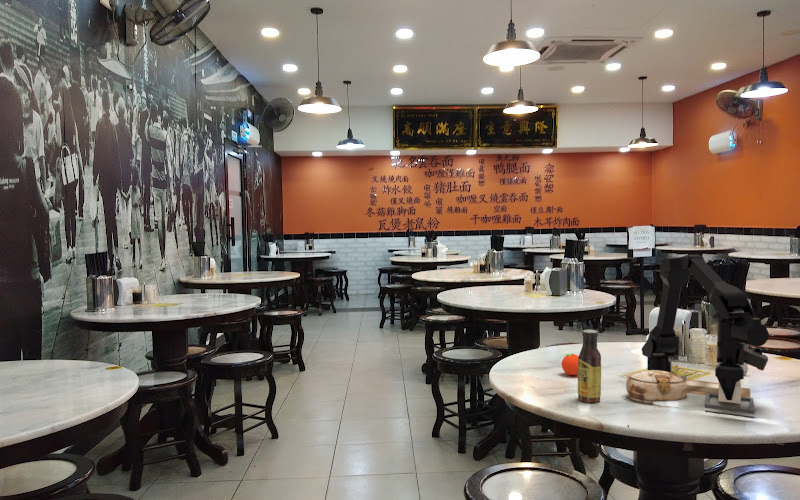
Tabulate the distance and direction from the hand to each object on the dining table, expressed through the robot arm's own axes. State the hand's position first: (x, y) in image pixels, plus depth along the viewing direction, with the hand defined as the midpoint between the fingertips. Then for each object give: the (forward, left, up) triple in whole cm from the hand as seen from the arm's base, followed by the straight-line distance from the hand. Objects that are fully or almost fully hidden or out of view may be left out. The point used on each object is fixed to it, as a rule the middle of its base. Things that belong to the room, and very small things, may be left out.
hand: (729, 396), depth 151 cm
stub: (0, 0, -1) cm, 1 cm away
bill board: (-4, +12, -3) cm, 13 cm away
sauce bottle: (-34, -9, -3) cm, 35 cm away
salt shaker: (+2, +37, -3) cm, 37 cm away
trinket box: (-18, +1, -4) cm, 18 cm away
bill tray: (0, 0, -3) cm, 3 cm away
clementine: (-45, +15, -3) cm, 48 cm away
